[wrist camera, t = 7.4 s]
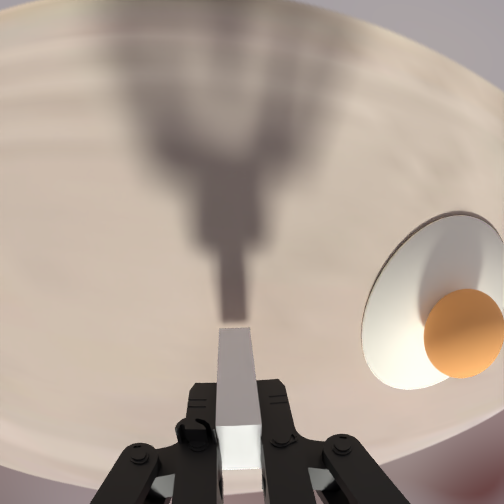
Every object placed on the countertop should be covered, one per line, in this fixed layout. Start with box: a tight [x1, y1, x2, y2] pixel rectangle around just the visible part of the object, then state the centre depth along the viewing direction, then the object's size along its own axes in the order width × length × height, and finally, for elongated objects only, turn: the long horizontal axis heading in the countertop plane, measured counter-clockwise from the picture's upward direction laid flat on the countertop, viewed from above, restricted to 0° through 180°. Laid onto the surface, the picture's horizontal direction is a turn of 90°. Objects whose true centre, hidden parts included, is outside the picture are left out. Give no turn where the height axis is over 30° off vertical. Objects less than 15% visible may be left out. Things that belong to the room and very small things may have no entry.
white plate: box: [361, 215, 504, 390], centre depth 18 cm, size 13×13×1 cm
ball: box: [424, 289, 504, 378], centre depth 16 cm, size 6×6×6 cm
